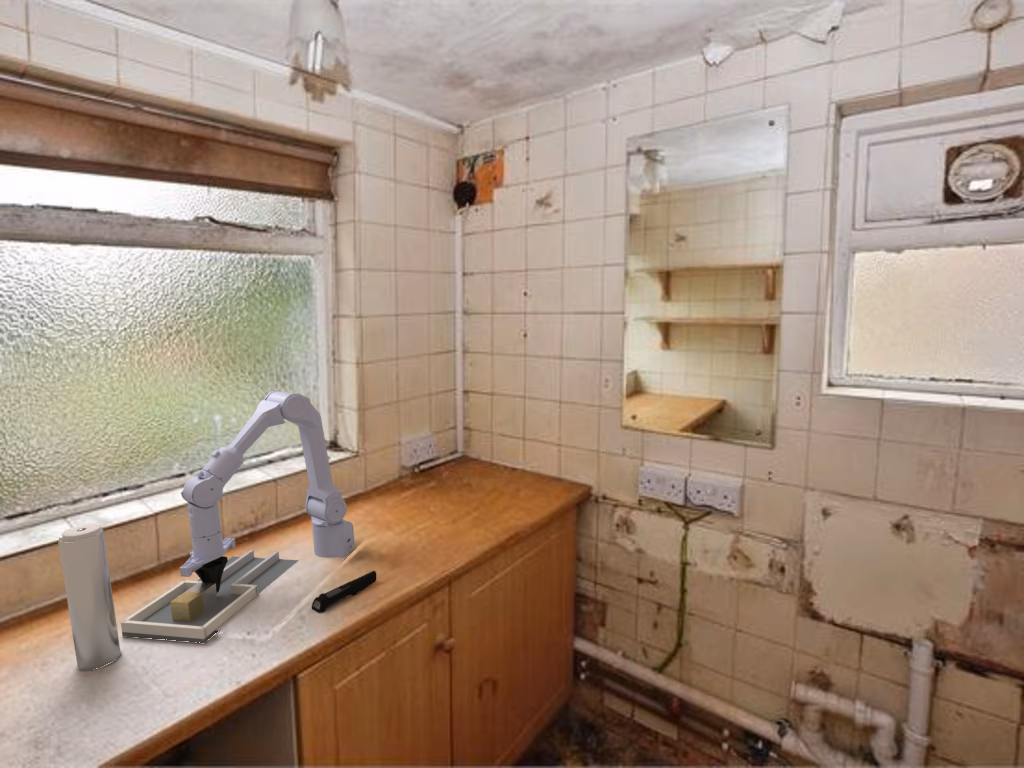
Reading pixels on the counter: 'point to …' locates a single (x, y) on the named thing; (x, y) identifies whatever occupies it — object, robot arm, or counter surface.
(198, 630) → the channel board
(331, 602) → the electric trimmer
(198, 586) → the light grey cube
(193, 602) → the mustard yellow cube
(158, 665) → the counter surface
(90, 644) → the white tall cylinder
